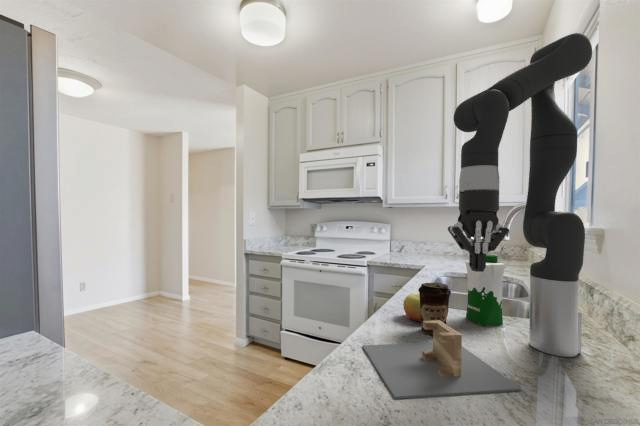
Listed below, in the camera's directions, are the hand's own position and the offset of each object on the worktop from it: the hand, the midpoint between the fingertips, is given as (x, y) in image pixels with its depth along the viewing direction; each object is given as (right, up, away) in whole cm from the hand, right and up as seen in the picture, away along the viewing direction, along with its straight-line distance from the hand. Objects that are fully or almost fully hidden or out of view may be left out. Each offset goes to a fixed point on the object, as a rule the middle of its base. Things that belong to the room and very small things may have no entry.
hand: (477, 270), depth 62 cm
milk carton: (+17, -21, +27) cm, 38 cm away
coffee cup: (-2, -20, +18) cm, 27 cm away
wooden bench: (-8, -19, -1) cm, 21 cm away
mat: (-10, -20, 0) cm, 22 cm away
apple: (-3, -21, +28) cm, 35 cm away
